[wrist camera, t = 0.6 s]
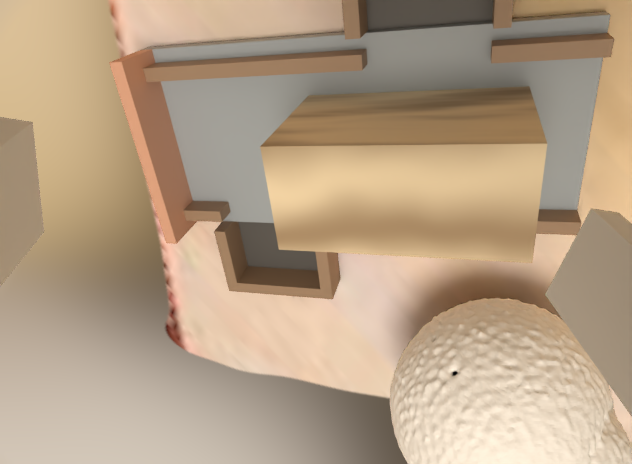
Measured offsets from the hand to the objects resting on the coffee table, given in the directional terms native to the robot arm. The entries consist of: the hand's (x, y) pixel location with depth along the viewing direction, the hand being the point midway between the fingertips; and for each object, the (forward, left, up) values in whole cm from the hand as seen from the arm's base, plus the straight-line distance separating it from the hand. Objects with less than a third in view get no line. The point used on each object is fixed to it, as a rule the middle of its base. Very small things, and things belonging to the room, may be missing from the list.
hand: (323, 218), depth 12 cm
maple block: (+7, -1, -25) cm, 26 cm away
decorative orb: (+26, +7, -26) cm, 38 cm away
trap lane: (+7, -5, -26) cm, 28 cm away
